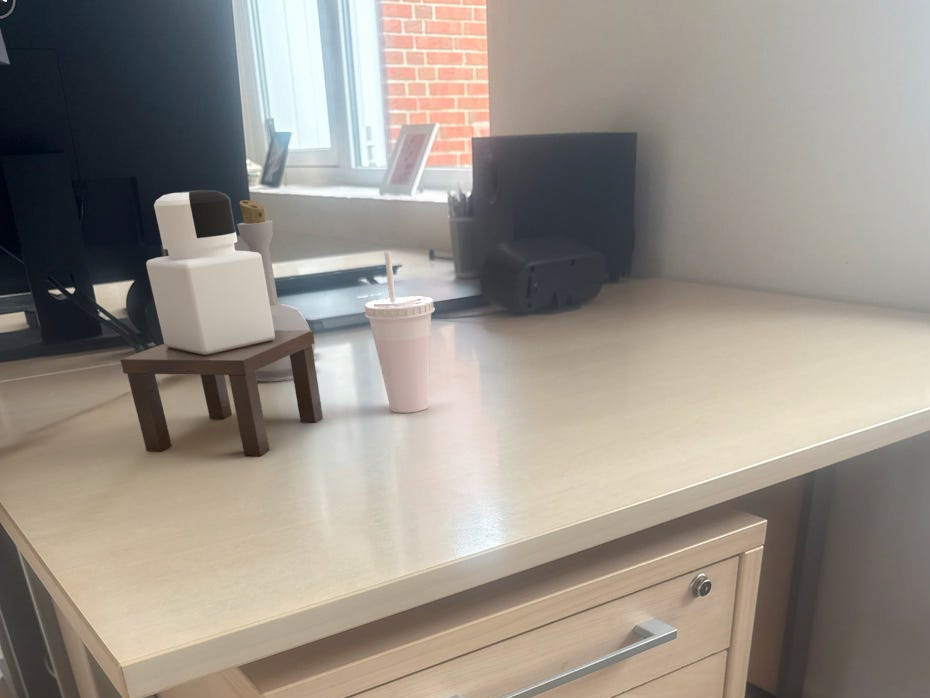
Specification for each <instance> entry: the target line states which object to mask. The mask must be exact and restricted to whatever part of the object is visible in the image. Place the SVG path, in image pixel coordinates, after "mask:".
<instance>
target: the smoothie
mask: <svg viewBox="0 0 930 698" xmlns="http://www.w3.org/2000/svg"><path fill="white" fill-rule="evenodd" d="M384 261H385V269H386V278H387V287H388V297H387V298H380V299H375V300H371V301H369V302H367V303H365V304H364V312H365V313H364V316H365V318H367V319H368V320H369V323H370V328H371V332H372V333H371V334H372V338H373V341H374V345H375V349H376V354H377V358H378V362H379V366H380V370H381V374H382V379H383V383H384V387H385V391H386V396H387V400H388V404H389V409H390V411H391V412H394V413H400V414H409V413H416V412H421V411H424V410H426V409H428V408H429V405H430V373H431V372H430V371H431V337H432V336H431V334H432V313H434V312H435V309H436V308H435V307H434V299H432V298H431V297H427V296H419V295H418V296H417V295H413V296H412V295H411V296H409V295H407V296H406V295H405V296H396V289H395V280H394V270H393V262H392V261H393V260H392V252H391V250H385V251H384Z"/></svg>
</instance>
